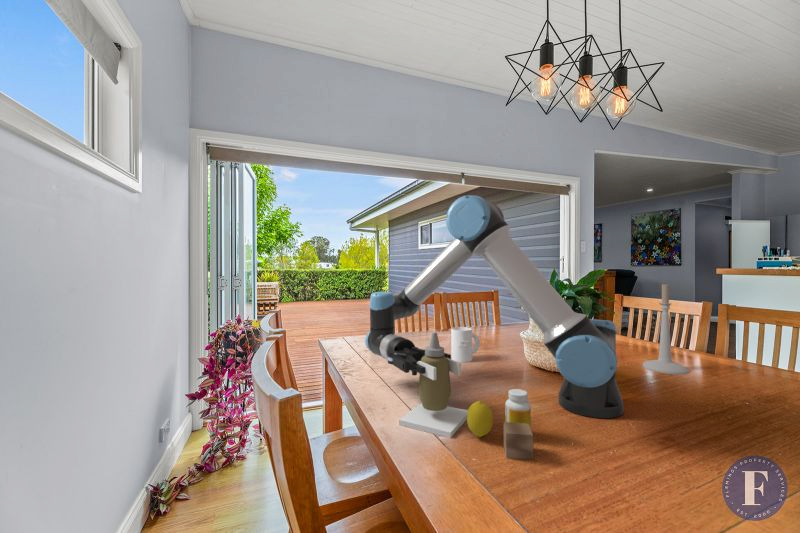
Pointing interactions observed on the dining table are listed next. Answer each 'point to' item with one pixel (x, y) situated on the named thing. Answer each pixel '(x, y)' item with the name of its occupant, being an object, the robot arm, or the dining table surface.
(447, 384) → the squeeze bottle
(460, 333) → the mug
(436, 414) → the grey board
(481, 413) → the lemon
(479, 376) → the dining table surface
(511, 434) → the grey cube
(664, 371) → the candlestick
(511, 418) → the supplement bottle
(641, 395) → the dining table surface
